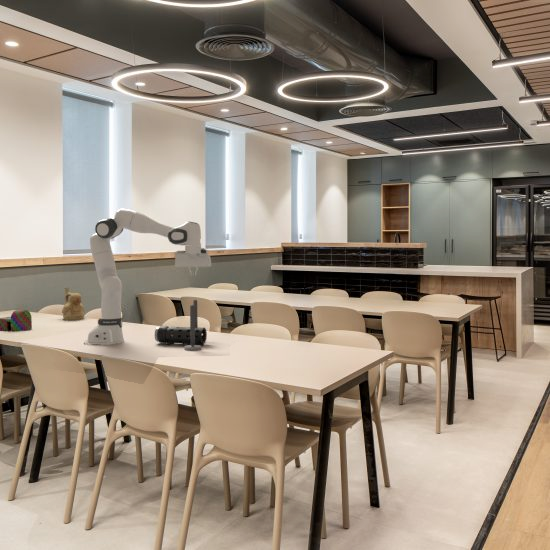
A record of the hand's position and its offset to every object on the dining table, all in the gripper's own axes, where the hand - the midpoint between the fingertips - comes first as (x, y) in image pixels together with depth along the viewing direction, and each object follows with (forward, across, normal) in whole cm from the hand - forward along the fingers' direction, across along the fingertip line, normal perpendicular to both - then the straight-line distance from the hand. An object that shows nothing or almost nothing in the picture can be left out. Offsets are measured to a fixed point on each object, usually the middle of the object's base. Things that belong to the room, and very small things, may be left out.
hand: (193, 275), depth 318 cm
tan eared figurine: (+39, -96, +113) cm, 153 cm away
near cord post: (+39, 0, -15) cm, 42 cm away
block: (+40, -124, +72) cm, 149 cm away
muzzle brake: (+40, -8, 0) cm, 40 cm away
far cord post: (+39, 0, +15) cm, 42 cm away
